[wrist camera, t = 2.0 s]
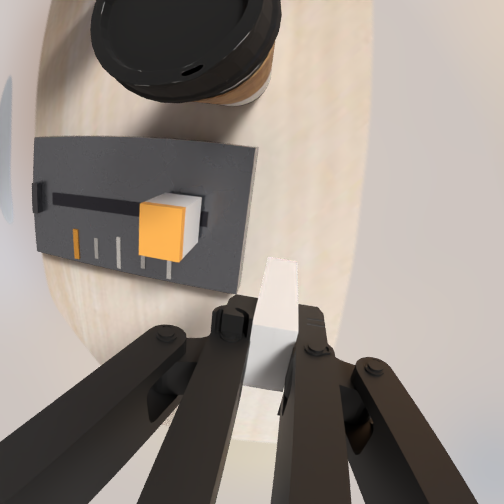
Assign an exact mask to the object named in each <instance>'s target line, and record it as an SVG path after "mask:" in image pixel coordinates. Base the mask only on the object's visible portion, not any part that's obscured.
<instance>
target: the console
mask: <svg viewBox="0 0 504 504" xmlns="http://www.w3.org/2000/svg"><path fill="white" fill-rule="evenodd" d="M257 155H258V147H250V146H242V145H234V144H225V143H216V142H206V141H195V140H183V139H169V138H152V137H130V136H49V137H35V140H34V167H33V183H32V206H33V213H34V217H35V232H36V241H37V242H36V243H37V251H38V252H42V253H46V254H50V255H54V256H58V257H62V258H66V259H70V260H75V261H79V262H83V263H87V264H91V265H96V266H100V267H104V268H109V269H113V270H118V271H122V272H127V273H131V274H136V275H140V276H145V277H150V278H155V279H159V280H164V281H169V282H174V283H179V284H184V285H189V286H194V287H199V288H204V289H210V290H215V291H220V292H226V293H231V294H237V292H238V289H239V286H240V282H241V274H242V267H243V259H244V252H245V244H246V237H247V229H248V222H249V214H250V207H251V199H252V192H253V184H254V177H255V170H256V162H257ZM163 193H172V194H180V195H188V196H195V197H202V201H201V212H200V223H199V235H198V243H197V244H196V245H195V246H194V247H193V248H192V249H191V250H190V251H189V252H188V253H187V254H186V256H185V257H184V258H183V259H182V260H181V261H180V262H173V261H168V260H163V259H158V258H152V257H147V256H142V255H139V216H140V203H142V202H145V201H147V200H149V199H152V198H154V197H156V196H159V195H161V194H163Z"/></svg>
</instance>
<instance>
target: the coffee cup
mask: <svg viewBox="0 0 504 504" xmlns="http://www.w3.org/2000/svg"><path fill="white" fill-rule="evenodd" d="M281 16H282V14H281V2H280V0H96V3H95V6H94V10H93V14H92V20H91V40H92V46H93V49H94V52H95V55H96V57H97V59H98V60H99V62H100V64H101V65H102V67H103V68H104V69H105V70H106V71H107V72H108V73H109V74H110V75H111V76H113V77H114V78H115V79H116V80H117V81H118V82H119V83H121V84H122V85H123V86H124V87H125V88H126V89H128V90H129V91H131V92H133V93H135V94H137V95H139V96H141V97H144V98H146V99H150V100H154V101H158V102H164V103H184V102H201V103H211V104H220V105H226V106H240V105H244V104H247V103H250V102H252V101H254V100H255V99H256V98H258V97H259V96H260V95H261V94H262V93H263V92H264V91H265V89H266V88H267V86H268V84H269V81H270V78H271V71H272V61H273V53H274V45H275V40H276V37H277V35H278V32H279V28H280V22H281Z"/></svg>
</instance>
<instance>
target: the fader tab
mask: <svg viewBox="0 0 504 504" xmlns="http://www.w3.org/2000/svg"><path fill="white" fill-rule="evenodd" d="M201 201H202V197H195V196H188V195H180V194H172V193H163V194H161V195H159V196H156V197H154V198H152V199H149V200H147V201H145V202H142V203H140V216H139V255H142V256H147V257H152V258H158V259H163V260H168V261H173V262H180V261H181V260H182V259H183V258H184V257H185V256H186V254H187V253H188V252H189V251H190V250H191V249H192V248H193V247H194V246H195V245H196V244H197V243H198V235H199V223H200V212H201Z"/></svg>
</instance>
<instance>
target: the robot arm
mask: <svg viewBox="0 0 504 504" xmlns="http://www.w3.org/2000/svg"><path fill="white" fill-rule="evenodd" d="M242 385H244V386H250V387H256V388H261V389H267V390H274V391H280V392H283V389H284V394H283V397H282V401H281V404H280V407H279V411H278V414H277V415H280V421H279V432H278V442H277V452H276V462H275V471H274V480H273V489H272V497H271V504H351V492H350V479H349V467H348V461H349V463H350V466H351V468H352V471H353V473H354V476H355V479H356V481H357V484H358V486H359V489H360V491H361V494H362V496H363V499H364V502H365V504H478V503H477V501H476V499H475V498H474V496H473V494H472V492H471V491H470V489H469V488H468V486H467V484H466V483H465V481H464V479H463V477H462V476H461V475H460V472H459V471H458V469H457V468H456V466H455V464H454V463H453V461H452V460H451V458H450V456H449V455H448V453H447V452H446V450H445V448H444V447H443V445H442V444H441V442H440V441H439V439H438V438H437V436H436V434H435V433H434V431H433V430H432V428H431V427H430V425H429V424H428V422H427V421H426V419H425V417H424V416H423V414H422V413H421V411H420V410H419V408H418V407H417V405H416V404H415V402H414V401H413V399H412V398H411V397H410V395H409V394H408V392H407V391H406V389H405V388H404V386H403V385H402V383H401V382H400V380H399V379H398V377H397V376H396V375H395V373H394V372H393V370H392V369H391V367H390V366H389V365H388V364H387V363H385V362H384V361H382V360H380V359H377V358H373V357H365V358H361V359H359V360H358V361H357V362H356V365H353V364H350V363H347V362H344V361H341V360H339V359H338V358H336V357H335V353H334V350H333V348H332V347H331V346H330V345H328V343H327V336H326V329H325V322H324V315H323V313H322V312H321V310H320V309H319V308H318V307H313V306H307V305H301V304H298V266H297V261H292V260H286V259H281V258H275V257H269V256H268V259H267V263H266V268H265V272H264V276H263V280H262V285H261V289H260V293H259V297H258V298H254V297H248V296H243V295H237V294H236V295H235V296H233V297H232V298H230V299H229V301H228V303H227V305H223V306H219V307H217V308H215V309H214V310H213V312H212V324H211V333H210V335H209V336H207V337H203V338H186V333H185V332H184V331H183V330H182V329H180V328H179V327H176V326H173V325H158V326H155V327H153V328H151V329H149V330H148V331H147V332H145V333H144V334H143V335H141V336H140V337H139V338H137V339H136V340H135V341H133V342H132V343H131V344H129V345H128V346H127V347H125V348H124V349H123V350H121V351H120V352H119V353H117V354H116V355H115V356H113V357H112V358H111V359H109V360H108V361H107V362H105V363H104V364H103V365H102V366H100V367H99V368H98V369H96V370H95V371H94V372H93V373H91V374H90V375H88V376H87V377H86V378H84V379H83V380H82V381H80V382H79V383H78V384H76V385H75V386H74V387H73V388H71V389H70V390H68V391H67V392H66V393H64V394H63V395H62V396H60V397H59V398H58V399H56V400H55V401H54V402H53V403H51V404H50V405H49V406H47V407H46V408H45V409H43V410H42V411H41V412H39V413H38V414H37V415H35V416H34V417H33V418H31V419H30V420H29V421H27V422H26V423H25V424H23V425H22V426H21V427H19V428H18V429H17V430H15V431H14V432H13V433H11V434H10V435H9V436H7V437H6V438H5V439H4V440H2V441H1V442H0V504H88V503H89V502H90V501H91V500H92V499H93V498H94V497H95V496H96V495H97V494H98V492H99V491H100V490H101V489H102V488H103V487H104V486H105V485H106V484H107V483H108V482H109V481H110V480H111V479H112V478H113V477H114V476H115V475H116V474H117V472H118V471H119V470H120V469H121V468H122V467H123V466H124V465H125V464H126V463H127V462H128V461H129V460H130V458H131V457H132V456H133V455H134V454H135V453H136V452H137V451H138V450H139V448H140V447H141V446H142V445H143V444H144V443H145V442H146V441H147V440H148V439H149V437H150V436H151V435H152V434H153V433H154V432H155V431H156V430H157V429H158V427H159V426H160V425H161V424H162V423H163V422H164V421H165V419H166V418H167V417H168V416H169V415H170V414H171V413H172V412H173V410H174V409H175V408H176V407H177V406H178V405H179V406H178V409H177V411H176V413H175V416H174V418H173V420H172V423H171V425H170V427H169V430H168V432H167V434H166V437H165V439H164V441H163V443H162V446H161V448H160V450H159V453H158V455H157V458H156V460H155V462H154V464H153V467H152V469H151V472H150V474H149V476H148V478H147V481H146V483H145V485H144V488H143V490H142V492H141V495H140V497H139V499H138V502H137V504H215V503H216V498H217V494H218V490H219V486H220V482H221V478H222V473H223V470H224V465H225V461H226V457H227V453H228V449H229V444H230V440H231V436H232V431H233V427H234V423H235V418H236V414H237V410H238V405H239V401H240V396H241V391H242ZM284 385H285V386H284ZM179 403H180V404H179Z"/></svg>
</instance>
